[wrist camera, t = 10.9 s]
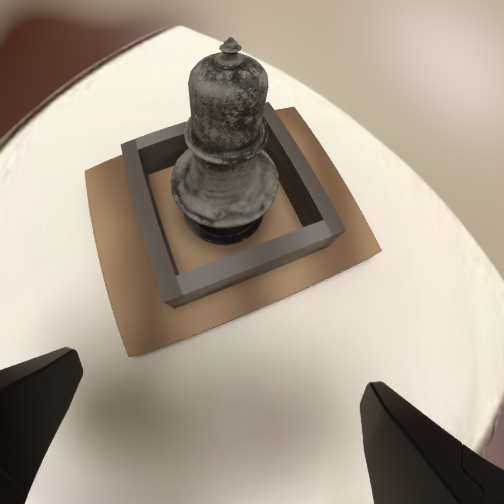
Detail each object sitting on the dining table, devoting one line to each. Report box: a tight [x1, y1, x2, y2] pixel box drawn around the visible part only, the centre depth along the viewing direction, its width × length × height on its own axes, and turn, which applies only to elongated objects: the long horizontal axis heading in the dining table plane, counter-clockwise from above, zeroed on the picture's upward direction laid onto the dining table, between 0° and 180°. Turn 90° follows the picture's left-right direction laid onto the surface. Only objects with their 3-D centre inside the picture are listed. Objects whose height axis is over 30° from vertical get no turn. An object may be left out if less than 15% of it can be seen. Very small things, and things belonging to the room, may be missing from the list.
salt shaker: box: [170, 37, 279, 245], centre depth 12 cm, size 6×6×12 cm
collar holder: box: [85, 102, 382, 357], centre depth 17 cm, size 18×14×4 cm
